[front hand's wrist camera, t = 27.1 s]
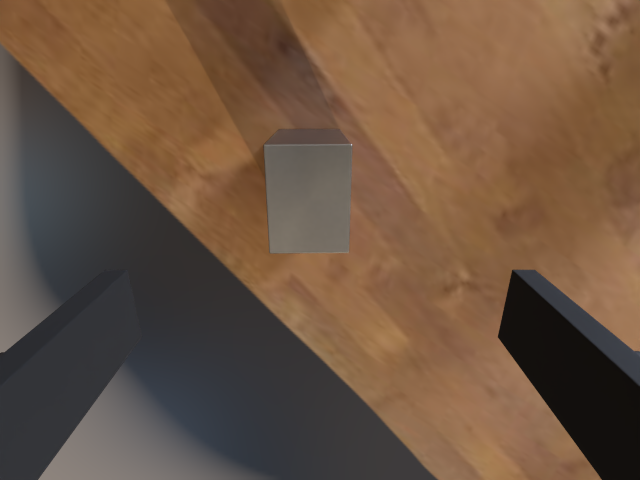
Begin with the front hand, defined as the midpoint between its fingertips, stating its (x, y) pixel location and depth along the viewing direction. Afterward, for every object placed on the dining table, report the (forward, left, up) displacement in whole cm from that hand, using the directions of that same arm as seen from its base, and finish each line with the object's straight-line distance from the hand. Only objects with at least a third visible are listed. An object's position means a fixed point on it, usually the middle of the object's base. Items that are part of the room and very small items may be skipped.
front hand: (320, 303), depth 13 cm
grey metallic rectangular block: (+1, 0, -25) cm, 25 cm away
